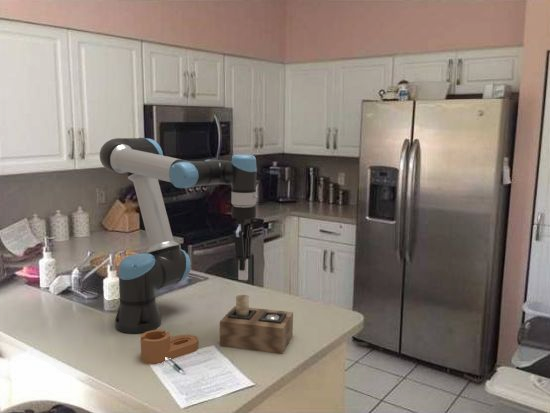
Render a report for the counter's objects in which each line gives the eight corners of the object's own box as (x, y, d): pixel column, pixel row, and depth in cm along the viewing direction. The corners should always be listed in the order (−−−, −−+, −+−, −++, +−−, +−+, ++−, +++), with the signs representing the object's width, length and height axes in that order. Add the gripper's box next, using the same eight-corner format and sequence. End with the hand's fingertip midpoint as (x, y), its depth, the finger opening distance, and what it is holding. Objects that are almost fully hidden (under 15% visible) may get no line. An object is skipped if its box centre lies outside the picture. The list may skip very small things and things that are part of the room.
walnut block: (219, 345, 155) (219, 319, 153) (234, 328, 168) (234, 304, 167) (282, 353, 150) (282, 326, 148) (292, 335, 163) (293, 310, 162)
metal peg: (264, 342, 156) (264, 318, 155) (267, 337, 160) (268, 313, 159) (276, 344, 155) (277, 319, 154) (280, 339, 159) (280, 315, 158)
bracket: (149, 367, 141) (149, 343, 140) (136, 356, 147) (135, 334, 146) (203, 349, 152) (203, 327, 151) (189, 340, 159) (189, 319, 158)
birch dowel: (234, 322, 158) (234, 298, 157) (238, 318, 162) (238, 294, 160) (246, 323, 157) (246, 299, 156) (250, 319, 161) (250, 295, 159)
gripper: (249, 209, 146) (248, 286, 150) (261, 203, 159) (260, 274, 162) (225, 207, 148) (224, 284, 152) (238, 201, 161) (238, 272, 164)
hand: (243, 279), depth 157 cm, fingers closed
